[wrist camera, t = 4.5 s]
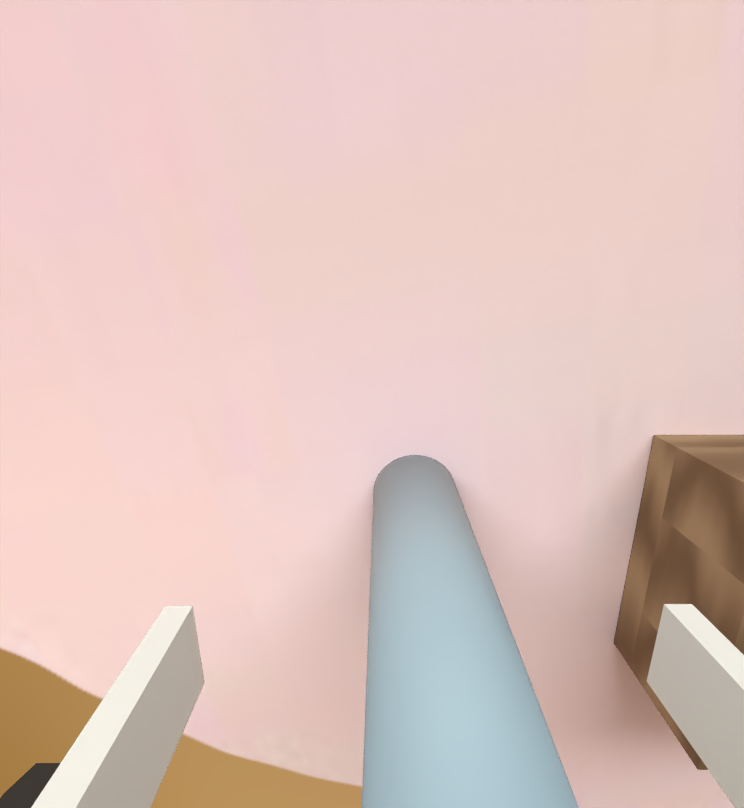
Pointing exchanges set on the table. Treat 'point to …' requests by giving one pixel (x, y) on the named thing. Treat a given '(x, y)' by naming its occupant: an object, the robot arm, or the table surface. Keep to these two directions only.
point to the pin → (445, 663)
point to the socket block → (686, 549)
